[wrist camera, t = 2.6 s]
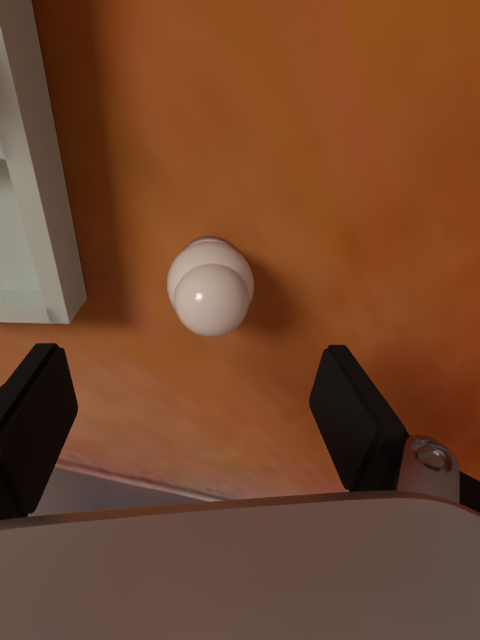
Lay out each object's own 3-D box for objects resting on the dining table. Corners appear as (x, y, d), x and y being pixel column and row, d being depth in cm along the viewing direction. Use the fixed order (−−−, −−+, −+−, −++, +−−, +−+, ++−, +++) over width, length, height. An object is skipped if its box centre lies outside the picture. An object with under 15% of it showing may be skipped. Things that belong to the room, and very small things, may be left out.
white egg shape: (252, 232, 18) (272, 273, 13) (243, 302, 21) (257, 360, 15) (170, 226, 17) (156, 267, 12) (172, 300, 20) (161, 359, 15)
